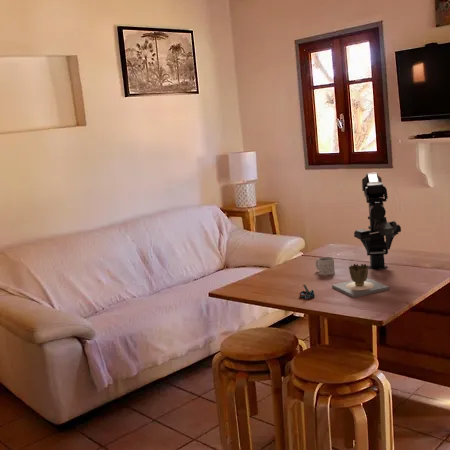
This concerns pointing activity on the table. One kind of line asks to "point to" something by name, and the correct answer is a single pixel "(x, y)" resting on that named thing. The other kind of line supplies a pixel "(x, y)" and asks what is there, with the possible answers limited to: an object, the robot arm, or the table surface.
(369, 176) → the robot arm
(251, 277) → the table surface
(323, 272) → the mug
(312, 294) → the dark blue lumpy piece
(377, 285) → the board
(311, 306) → the table surface
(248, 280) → the table surface
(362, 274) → the brown mottled round piece
